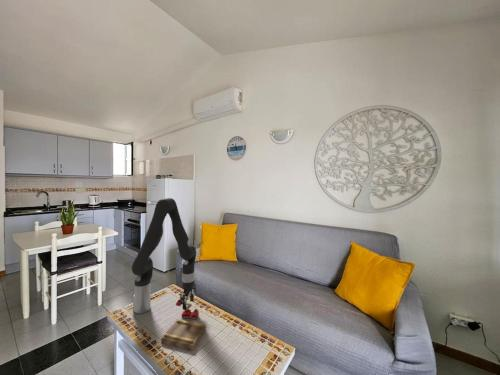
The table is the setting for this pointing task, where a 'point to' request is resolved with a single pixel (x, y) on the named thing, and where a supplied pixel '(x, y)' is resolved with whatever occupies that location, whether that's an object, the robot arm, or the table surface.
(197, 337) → the platform
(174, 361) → the table surface
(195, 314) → the toy fire truck
